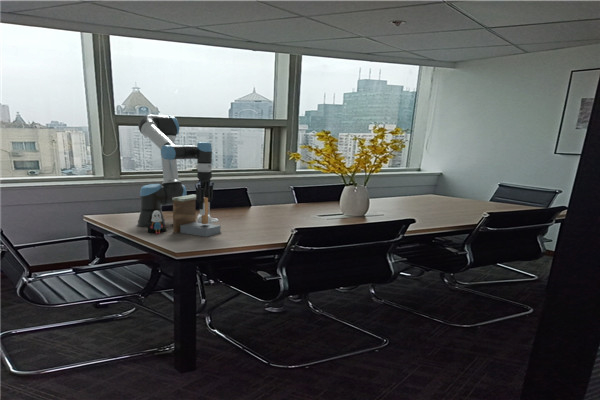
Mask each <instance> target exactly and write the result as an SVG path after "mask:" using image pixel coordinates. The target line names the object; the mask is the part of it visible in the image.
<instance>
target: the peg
mask: <svg viewBox="0 0 600 400" xmlns="http://www.w3.org/2000/svg"><path fill="white" fill-rule="evenodd" d="M204 203H205V215H202V224H208V198H207V197H205V196H204Z"/></svg>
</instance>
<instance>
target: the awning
mask: <svg viewBox="0 0 600 400" xmlns="http://www.w3.org/2000/svg"><path fill="white" fill-rule="evenodd" d="M172 200H173V205H172V219H173V220H172V223H173V224H172V227H173V228H172V229H173V230H172V232H173V233H175V234H178V233H180V225H184V224H188V223H192V222H197V217H196V193H195V194H193V193H192V194H188V195H187V194H186V196H180V197H174V198H172Z"/></svg>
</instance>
